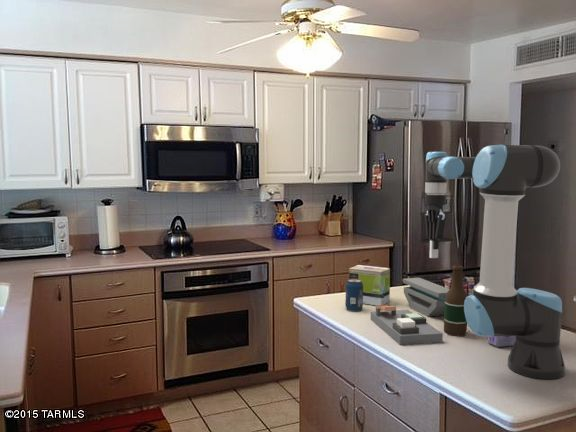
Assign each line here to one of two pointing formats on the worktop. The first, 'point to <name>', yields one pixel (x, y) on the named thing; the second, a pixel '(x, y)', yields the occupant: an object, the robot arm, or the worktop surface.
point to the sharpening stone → (425, 296)
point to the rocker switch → (386, 308)
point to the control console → (406, 335)
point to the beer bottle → (455, 305)
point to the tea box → (373, 283)
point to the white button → (405, 323)
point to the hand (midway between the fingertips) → (433, 257)
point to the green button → (413, 316)
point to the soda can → (354, 295)
